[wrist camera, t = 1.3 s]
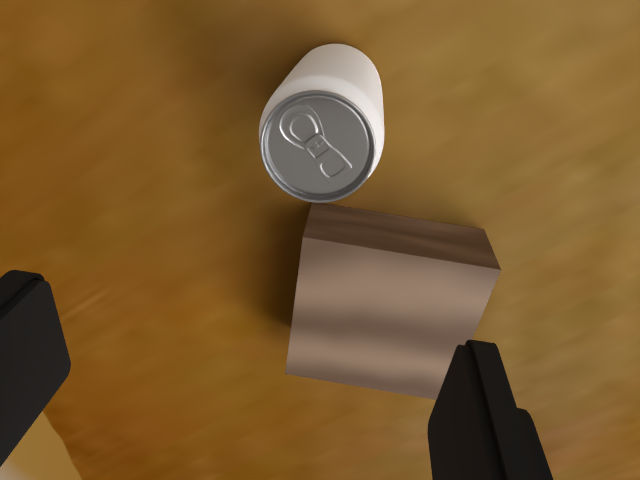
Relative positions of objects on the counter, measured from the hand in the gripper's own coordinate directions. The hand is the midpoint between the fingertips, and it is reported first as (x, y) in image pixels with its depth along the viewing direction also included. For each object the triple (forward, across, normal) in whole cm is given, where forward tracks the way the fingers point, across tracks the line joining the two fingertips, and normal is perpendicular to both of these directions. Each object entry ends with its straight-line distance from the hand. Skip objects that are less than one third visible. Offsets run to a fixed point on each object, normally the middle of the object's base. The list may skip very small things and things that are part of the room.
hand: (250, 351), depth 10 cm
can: (+25, 0, 0) cm, 25 cm away
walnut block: (+25, -6, +16) cm, 31 cm away
